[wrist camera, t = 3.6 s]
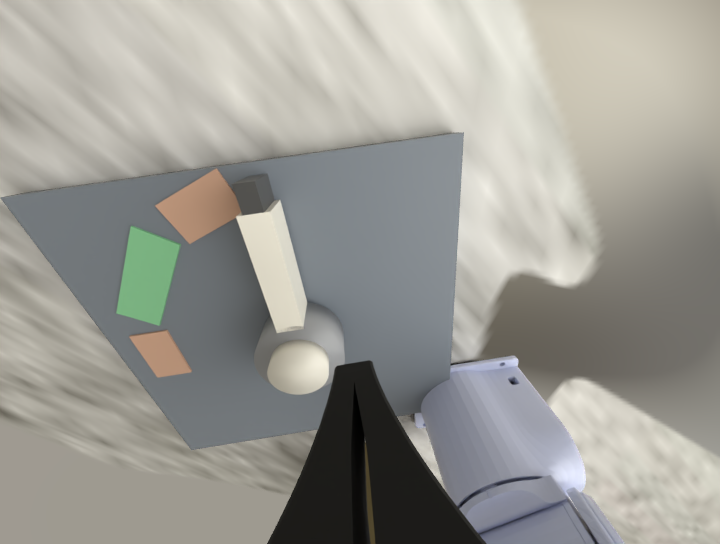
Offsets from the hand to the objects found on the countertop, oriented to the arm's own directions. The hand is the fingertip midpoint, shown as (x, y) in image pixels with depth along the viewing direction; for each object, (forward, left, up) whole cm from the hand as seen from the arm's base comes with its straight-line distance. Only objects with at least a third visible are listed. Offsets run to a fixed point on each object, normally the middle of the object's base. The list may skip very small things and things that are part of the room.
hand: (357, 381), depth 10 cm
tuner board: (+5, +4, -9) cm, 11 cm away
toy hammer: (+4, 0, -8) cm, 9 cm away
